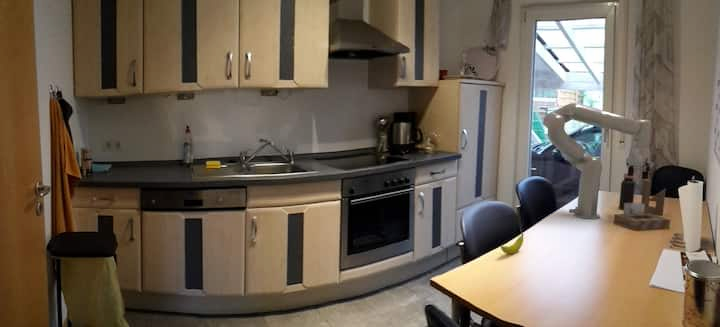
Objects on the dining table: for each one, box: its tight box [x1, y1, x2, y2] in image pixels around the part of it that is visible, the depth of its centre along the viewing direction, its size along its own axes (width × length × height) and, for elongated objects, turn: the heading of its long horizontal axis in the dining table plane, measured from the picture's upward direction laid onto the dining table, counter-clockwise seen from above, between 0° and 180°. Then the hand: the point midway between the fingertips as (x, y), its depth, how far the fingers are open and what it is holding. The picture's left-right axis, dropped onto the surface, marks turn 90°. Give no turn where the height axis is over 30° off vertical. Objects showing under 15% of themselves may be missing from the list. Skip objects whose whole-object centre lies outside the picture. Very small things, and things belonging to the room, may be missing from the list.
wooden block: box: [641, 179, 667, 217], centre depth 287 cm, size 4×11×18 cm, turn 54°
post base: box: [613, 213, 671, 232], centre depth 260 cm, size 20×14×4 cm
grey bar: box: [622, 201, 645, 214], centre depth 275 cm, size 9×4×8 cm, turn 105°
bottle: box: [618, 172, 636, 211], centre depth 297 cm, size 7×7×20 cm
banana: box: [500, 233, 525, 255], centre depth 210 cm, size 3×19×6 cm, turn 139°
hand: (637, 177), depth 273 cm, fingers open, 9 cm apart
